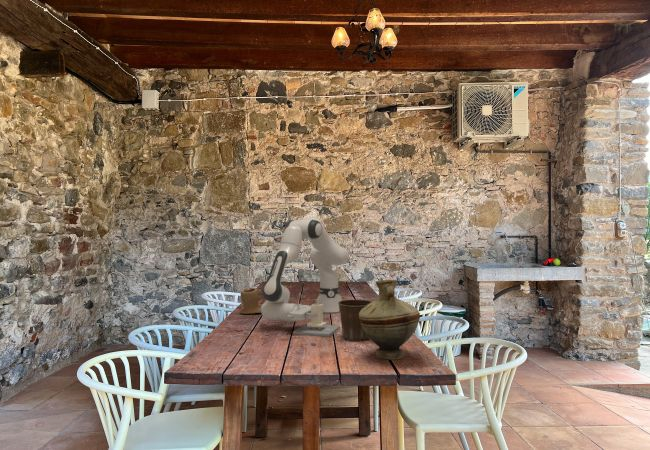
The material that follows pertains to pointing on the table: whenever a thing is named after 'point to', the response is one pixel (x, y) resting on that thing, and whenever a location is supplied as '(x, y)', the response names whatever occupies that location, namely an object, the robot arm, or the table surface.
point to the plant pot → (352, 319)
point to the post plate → (317, 330)
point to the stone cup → (250, 301)
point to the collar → (319, 319)
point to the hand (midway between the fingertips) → (318, 314)
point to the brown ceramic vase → (389, 321)
